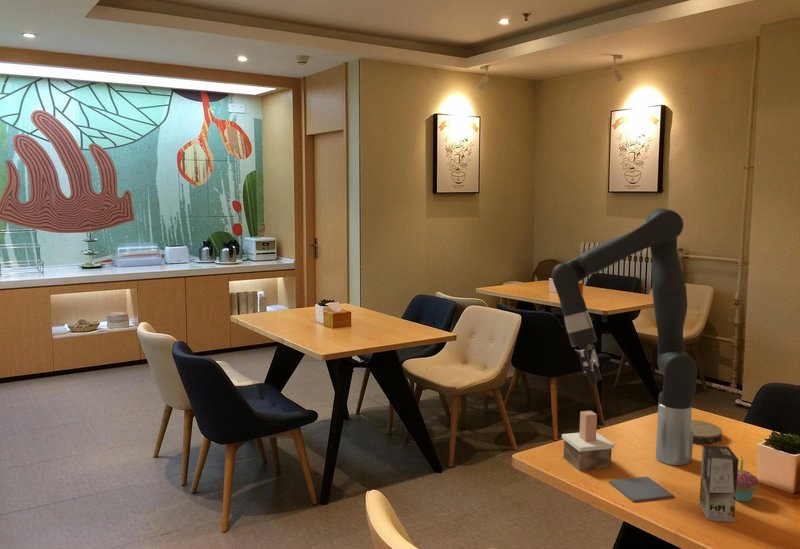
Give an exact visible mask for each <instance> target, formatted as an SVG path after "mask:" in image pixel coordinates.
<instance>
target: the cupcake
mask: <svg viewBox="0 0 800 549" xmlns="http://www.w3.org/2000/svg"><path fill="white" fill-rule="evenodd" d="M739 461H740V462H739V469H738V473H737V486H736V500H735V501H737V502H750V501H751V499H752V497H753V495H754V494H755V493H756V491H757V490H759V488H760V481H759V478H757V476H756V475H754V474H753V473H751V472H749V471H746V470H745V469H744V458H740V459H739Z"/></svg>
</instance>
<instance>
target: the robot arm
mask: <svg viewBox="0 0 800 549" xmlns="http://www.w3.org/2000/svg"><path fill="white" fill-rule="evenodd" d="M683 229H684V220H683V218H682V216H681V214H679V213H677V212H676V211H674V210H672V209H668V208H657V209H655V210H653V211H652V212H650V213H649V215H648V216H647V218H646V220H645V222H644V223H643V224H641V225H640V226H638V227H636V228H634V229H632V230H631V231H629V232H627V233H625V234H622V235H619V236H617V237H614V238H612V239H609V240H606V241H604V242H602V243H600V244H597V245H596V246H593V247H592V248H590V249H588V250H586V251H584V252H583V253H581V254H580V255H579V256H577V257H575V258H573V259H571V260H569V261H566V262H562V263H561V262H560V263H558V264H557V265H555V266H554V268H553V269H552V271H551V280H552V281H553V285H554V288H555V290H556V293H557V296H558V298H559V302H560V303H559V304H560V308H561V311H562V314H563V315H562V316H563V318H564V324H565V328H566V331H567V334H568V338H569V341H570V346H571V347H572V348H579V350H577V355H578V360H579V362H580V366H581V370H582V371H583V373H584V374H585V377H586V380H587V382H588V385H589V386H594V385H597V383H598V382H600V381H601V380H602V375H601V371H600V369H599V367H600V361H599V358H598V355H597V351H596V348H595V345H594V344H593V343H596V342H597V340H598V339H597V335H596V332H595V327H594V325H593V322H592V318H591V317H590V314H589V311H588V308H587V305H586V302H585V298H584V296H583V294H582V292H581V288H580V284H579V282H581V281H582V280H584V279H586V278H587V277H589V276H591V275H594V274H596V273H598V272H601V271H603V270H605V269H607V268H608V267H610V266H612V265H614V264H616V263H618V262H620V261H622V260H624V259H626V258H628V257H630V256H631V255H632V256H633V255H634V254H635V253H638V252H640V251H643V250H646V249H649V250H650V256H651V290H652V300H653V310H654V317H655V324H656V329H657V367H658V370H659V372H660V374H661V375H662V376H663V386H662V391H661V392H659V394H658V405H657V406H658V408H657V427H656V428H657V429H656V442H655V445H656V446H655V459H656V460H657V461H659V462H661V463H663V464H666V465H671V466H684V465H687V464H689V463H692V462H693V461H692V460H693V445H694V443H693V431H692V430H691V420H692V410H693V407H692V406H693V400H694V399H695V396H696V389H697V388H696V387H697V379H698V378H697V377H698V368H697V363H696V361H695V359H694V358H693V357H691V356H690V355H689V354H688V353H687V351H686V345H685V338H684V326H685V320H686V317H687V311H688V296H687V295H688V294H687V293H688V292H687V286H686V280H685V277H684V273H683V269H682V266H681V263H680V259H679V253H678V237H679V236H680V235H681V233H682V232H683ZM591 344H593V345H591Z"/></svg>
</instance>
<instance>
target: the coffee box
mask: <svg viewBox="0 0 800 549" xmlns="http://www.w3.org/2000/svg"><path fill="white" fill-rule="evenodd" d="M739 461H740V459H739V458H738V457H737V456H736V454H735V453H734V452H733V450H732V449H731V448H730V447H729V446H728V445H727V446H725V445H714V444H711V445H710V444H706V445H704V444H702V453H701V467H700V468H701V469H700V489H699V506H700V508H701V510H702V511H703V513H704V515H705V518H706V519H707V520H709V521H715V522H716V521H717V522H727V523H734V522H735V513H736V512H735V511H736V501H737V500H736V486H737V473H738V470H739V469H738V468H739Z"/></svg>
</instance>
